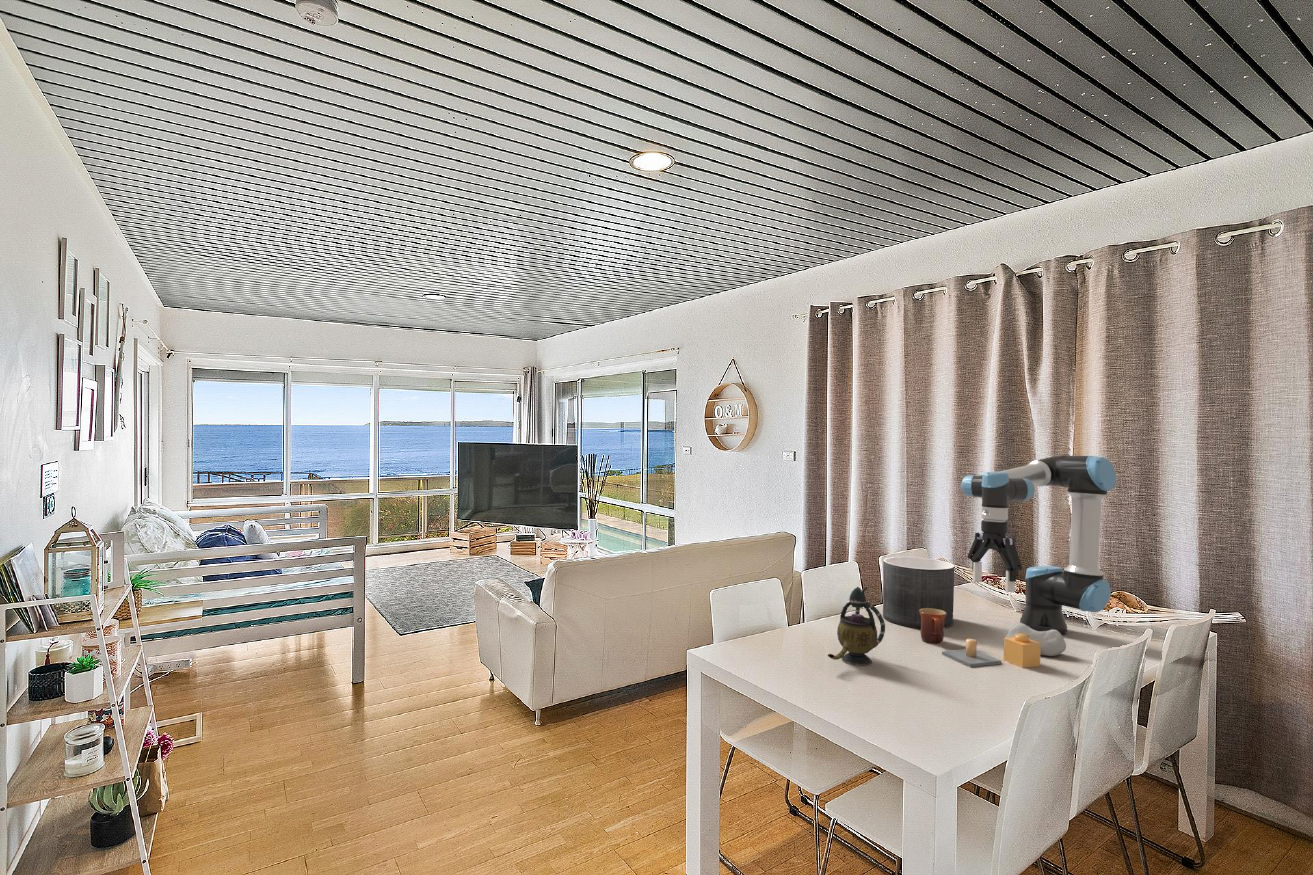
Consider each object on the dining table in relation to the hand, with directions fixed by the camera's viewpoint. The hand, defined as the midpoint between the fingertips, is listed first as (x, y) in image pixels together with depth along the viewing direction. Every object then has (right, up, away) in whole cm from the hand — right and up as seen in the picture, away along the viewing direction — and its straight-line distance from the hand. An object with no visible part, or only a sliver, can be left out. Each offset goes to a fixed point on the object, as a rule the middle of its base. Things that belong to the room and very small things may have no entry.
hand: (993, 586), depth 206 cm
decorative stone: (+17, -23, +7) cm, 30 cm away
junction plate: (-8, -23, -2) cm, 24 cm away
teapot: (-48, -22, -8) cm, 53 cm away
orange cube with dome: (+6, -23, -5) cm, 24 cm away
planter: (-7, -23, +42) cm, 49 cm away
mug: (-13, -23, +14) cm, 30 cm away
